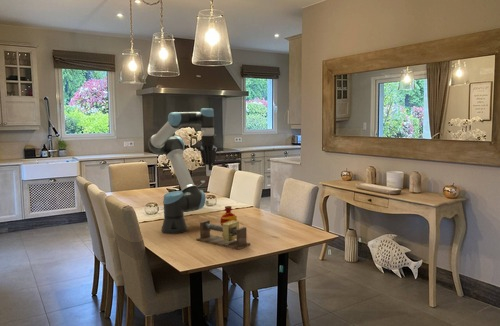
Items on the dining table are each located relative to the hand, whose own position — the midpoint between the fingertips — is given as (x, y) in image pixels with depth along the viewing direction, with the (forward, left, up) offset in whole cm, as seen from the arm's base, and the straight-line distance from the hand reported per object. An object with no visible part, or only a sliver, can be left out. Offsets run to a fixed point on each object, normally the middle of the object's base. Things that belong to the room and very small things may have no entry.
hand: (208, 175), depth 236 cm
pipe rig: (+18, -10, -34) cm, 40 cm away
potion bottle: (+7, +9, -35) cm, 36 cm away
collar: (+24, -10, -31) cm, 41 cm away
